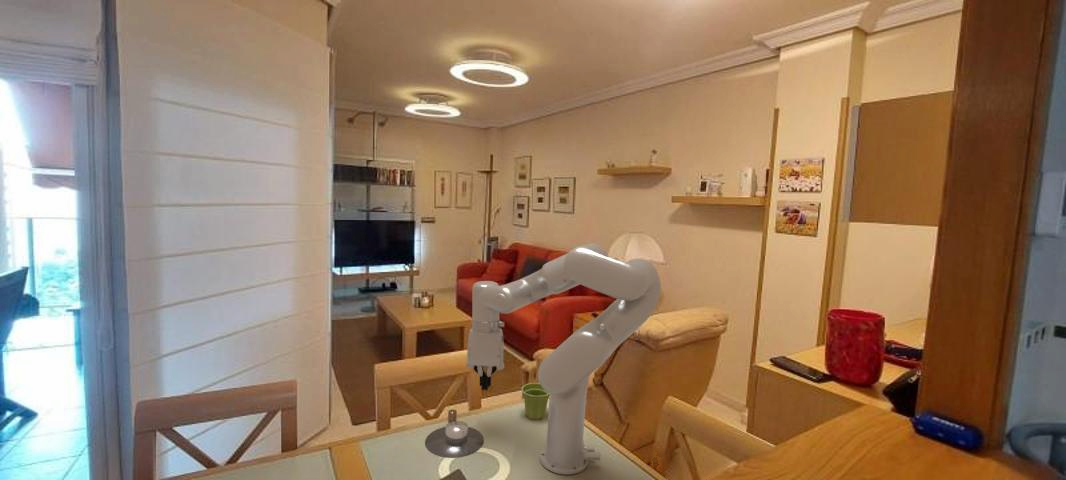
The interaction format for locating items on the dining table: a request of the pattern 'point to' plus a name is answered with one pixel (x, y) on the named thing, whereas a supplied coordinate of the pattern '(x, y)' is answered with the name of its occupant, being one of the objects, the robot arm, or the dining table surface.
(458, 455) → the turntable
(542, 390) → the plant pot
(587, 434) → the dining table surface
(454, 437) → the cover
